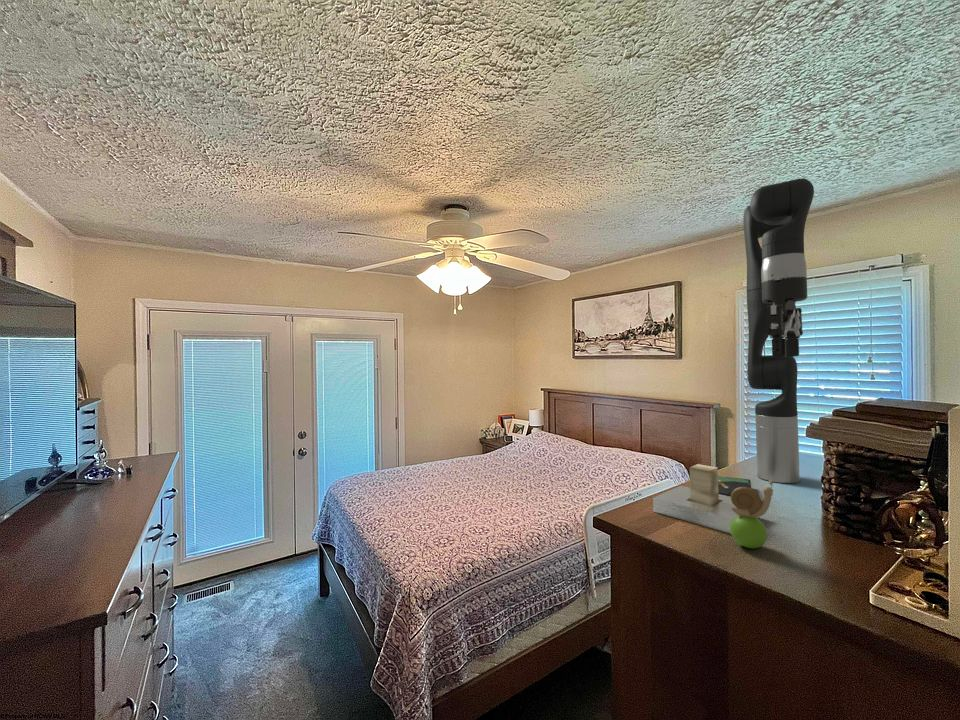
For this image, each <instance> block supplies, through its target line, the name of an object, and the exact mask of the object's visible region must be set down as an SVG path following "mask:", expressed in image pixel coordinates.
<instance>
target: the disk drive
mask: <svg viewBox="0 0 960 720" xmlns="http://www.w3.org/2000/svg"><path fill="white" fill-rule="evenodd" d="M738 487H748V488H751V489H752V481H751V479H748V478H739V477H730V476H719V475H718V494H721V495H725V496H730V497H731V493H732V491H733V490H734V489H736V488H738Z"/></svg>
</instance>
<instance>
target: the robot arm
mask: <svg viewBox="0 0 960 720" xmlns="http://www.w3.org/2000/svg"><path fill="white" fill-rule="evenodd" d="M814 188H815V187H814V185H813V183H812V182H811V181H810V180H809V179H807V178H804V177H803V178H796V179H791V180H789V181H788V180H786V181H781V182H778V183H773V184H772V183H771V184H769V185H764V186H762V187H759V188H757V189H756V190H755V191H754V192H753V194H751V195H752V196H751V198H750V202H749V205H748V206H747V207H746V208H745V210H744V212H743V218H742V219H743V220H742V222H743V232H744V233H743V234H744V243H745V256H746V257H745V258H746V308H747V324H748V342H747V343H748V344H747V345H748V346H747V348H748V349H747V367H746V368H747V371H746V372H747V373H746V374H747V382H748V385H749V386H750V388H751V389H752V390H772V391H773V390H775V391H777V390H779V391H780V390H781V393H780V395H778V396H775V398H772V399H769V400H765V401H761V402H758V403H756V404H755V407H754V411H755V412H754V413H755V415H754V417H755V441H756V442H755V444H756V445H755V447H756V475H757V478H760V479H761V480H765V481H768V482H769V481H770V480H771V481H772V482H773V483H774V482H775V483H782V484H796V483H799V482H800V481H801V480H800V452H799V451H800V449H799V444H800V443H799V442H800V441H799V424H798V423H799V421H798V419H799V416H798V414H799V413H798V401H797V399H798V396H797V395H798V394H797V392H798V391H797V390H798V388H797V387H798V363H797V361H796V360H797V359H796V358H795V357H798V356H799V355H800V343H799V342H800V339H801V336H803V334H804V332H803V319H802V318H803V317H802V315H803V314H802V311H803V310H802V308H801V307H796V306H797V305H796V302H803V301H805V300H807V299H808V275H807V262H806V256H805V228H806V224H807V223H806V222H807V218H808V214H809V211H810V209H811V206H812V203H813V198H814V196H815V189H814ZM760 238H761V243H760V241H759V239H760ZM768 338H770V339H771V355H763V350H764V346H765V343H766V341H767V340H768Z"/></svg>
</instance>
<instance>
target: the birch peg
mask: <svg viewBox="0 0 960 720" xmlns="http://www.w3.org/2000/svg"><path fill="white" fill-rule="evenodd" d="M718 476H719V471H718V467H717V466H711V465H706V464H705V465H704V464H700V463H697V464H694V465H692V466H690V467H689V488H690V501H691V502H695V503H699V504H703V505H707V506H711V507H713V506H715V505H717V504H718V503H719V496H718Z"/></svg>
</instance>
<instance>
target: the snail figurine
mask: <svg viewBox="0 0 960 720" xmlns="http://www.w3.org/2000/svg"><path fill="white" fill-rule="evenodd" d="M768 484H769V485H770V487H769V486H766V487H764V488H762V489H763V490H762V493H763V497H762V498H761V496H760V494H759V493H758V492H756V491H755V490H754V489H752V487H751V488H748V487H738V488H736V489H734V490H733V491H732V493H731V501H732V503H733V504H734V505H735V506H736V507H737V508H734V507H731V509H732V510H733V511H734V512H735V513H736V514H737V515H739V516H737V517H735V518H734V519H733V520H732V522H731V525H730V531H731V534H730V535H731V537H732V538H733V540H735V541H736V542H737V544H739V545H741V546H742V547H745V548H747V549H758V548H760V547H762V546H764V545H765V544H766V542H767V540H768V530H767V528H766V526H765V525H764V523H763V522H762V521H761V520H760V519H759V518H760V517H761V516H764V515H765V514H766V513H767V512H768V510H769V507H770V505H771V500H772V496H773V494H774V489H773V488H772V487H773V484H774V482H773V481H771V480H770V481H768ZM755 517H759V518H758V519H757V518H755Z"/></svg>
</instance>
